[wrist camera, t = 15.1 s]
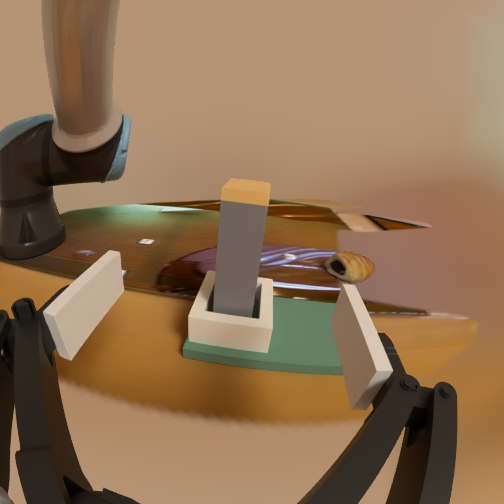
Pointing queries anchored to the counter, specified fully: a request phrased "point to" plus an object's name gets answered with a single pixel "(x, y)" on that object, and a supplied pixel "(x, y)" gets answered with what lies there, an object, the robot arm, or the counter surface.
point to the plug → (240, 245)
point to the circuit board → (284, 342)
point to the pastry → (349, 267)
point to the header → (232, 320)
